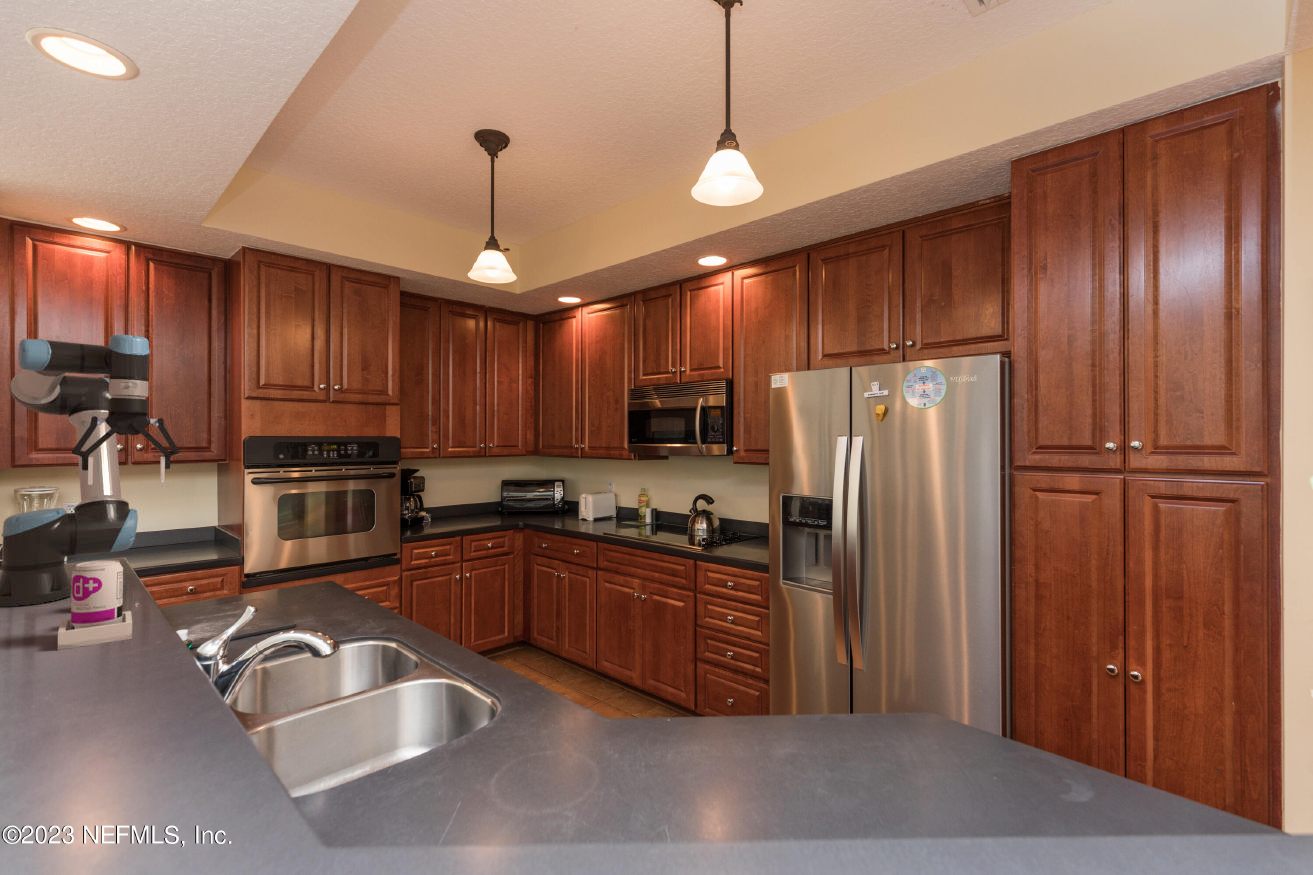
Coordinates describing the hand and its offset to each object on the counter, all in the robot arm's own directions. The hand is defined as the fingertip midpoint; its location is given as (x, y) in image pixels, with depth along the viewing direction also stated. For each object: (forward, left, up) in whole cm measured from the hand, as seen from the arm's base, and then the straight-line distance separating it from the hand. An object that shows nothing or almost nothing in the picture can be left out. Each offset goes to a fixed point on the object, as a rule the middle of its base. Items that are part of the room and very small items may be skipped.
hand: (127, 483), depth 154 cm
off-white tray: (+23, -5, -32) cm, 39 cm away
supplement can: (+22, -5, -31) cm, 38 cm away
